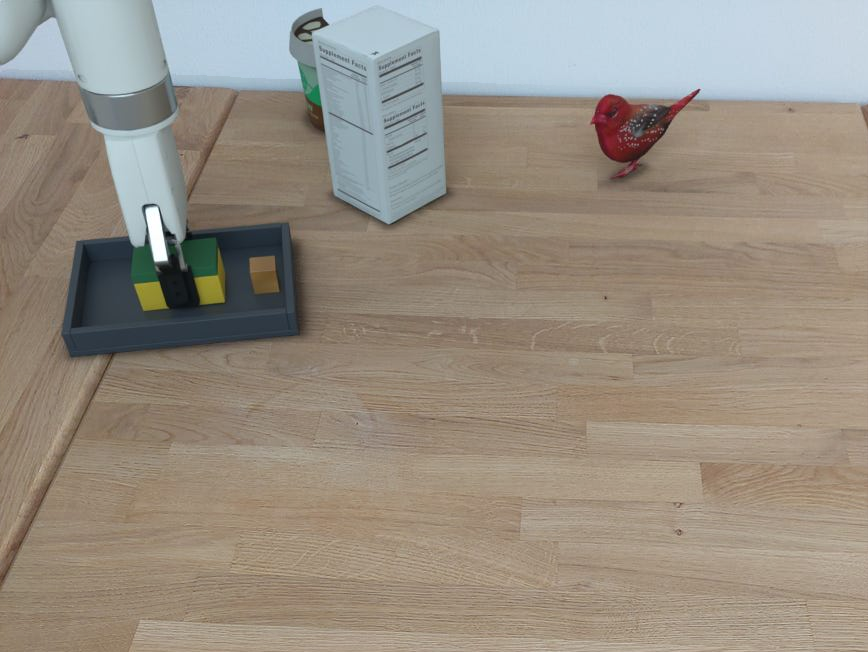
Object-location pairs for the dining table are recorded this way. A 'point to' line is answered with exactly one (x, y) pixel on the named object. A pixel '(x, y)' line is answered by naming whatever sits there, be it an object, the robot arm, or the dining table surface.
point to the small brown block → (264, 275)
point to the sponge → (197, 255)
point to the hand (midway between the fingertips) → (184, 286)
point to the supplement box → (382, 111)
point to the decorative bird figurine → (632, 127)
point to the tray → (211, 323)
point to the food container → (308, 61)
